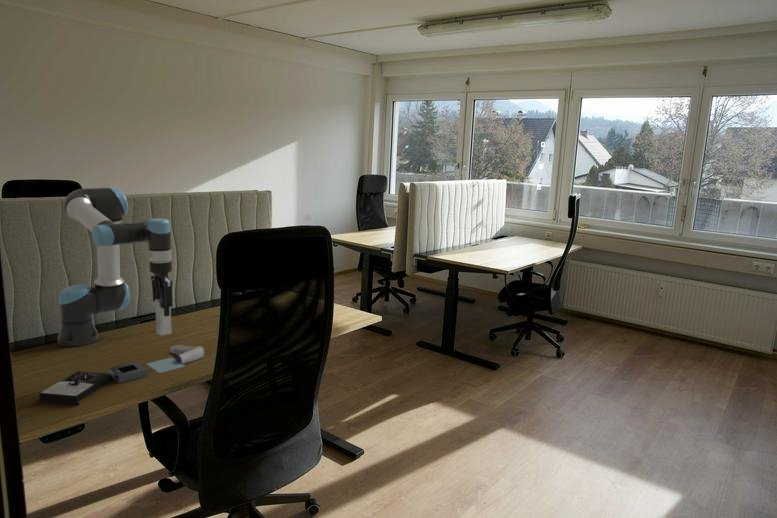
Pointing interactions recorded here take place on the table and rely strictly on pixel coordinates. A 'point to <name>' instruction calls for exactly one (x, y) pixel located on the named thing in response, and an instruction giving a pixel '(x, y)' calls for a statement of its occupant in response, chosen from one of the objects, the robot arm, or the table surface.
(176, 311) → the table surface
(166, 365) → the slate mat
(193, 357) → the infrared thermometer
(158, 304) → the long steel block
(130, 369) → the socket block
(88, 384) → the multimeter
